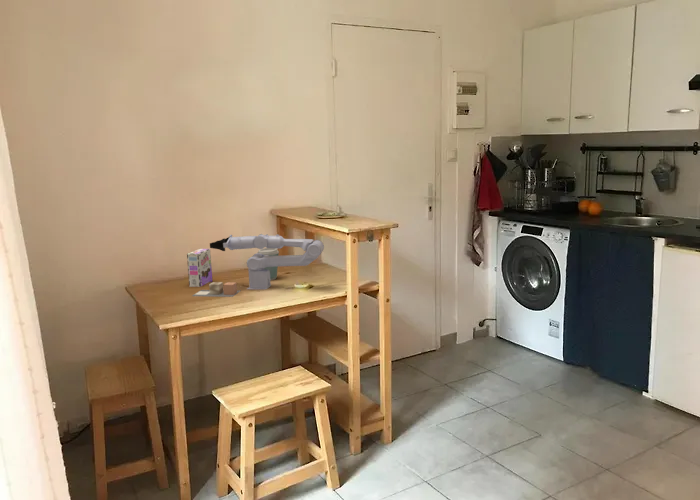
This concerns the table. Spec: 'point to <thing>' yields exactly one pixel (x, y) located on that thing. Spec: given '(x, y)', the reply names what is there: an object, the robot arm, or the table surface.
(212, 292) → the block cream
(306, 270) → the table surface
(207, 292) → the board
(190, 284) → the candy box
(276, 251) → the disposable coffee cup
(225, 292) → the block terracotta
